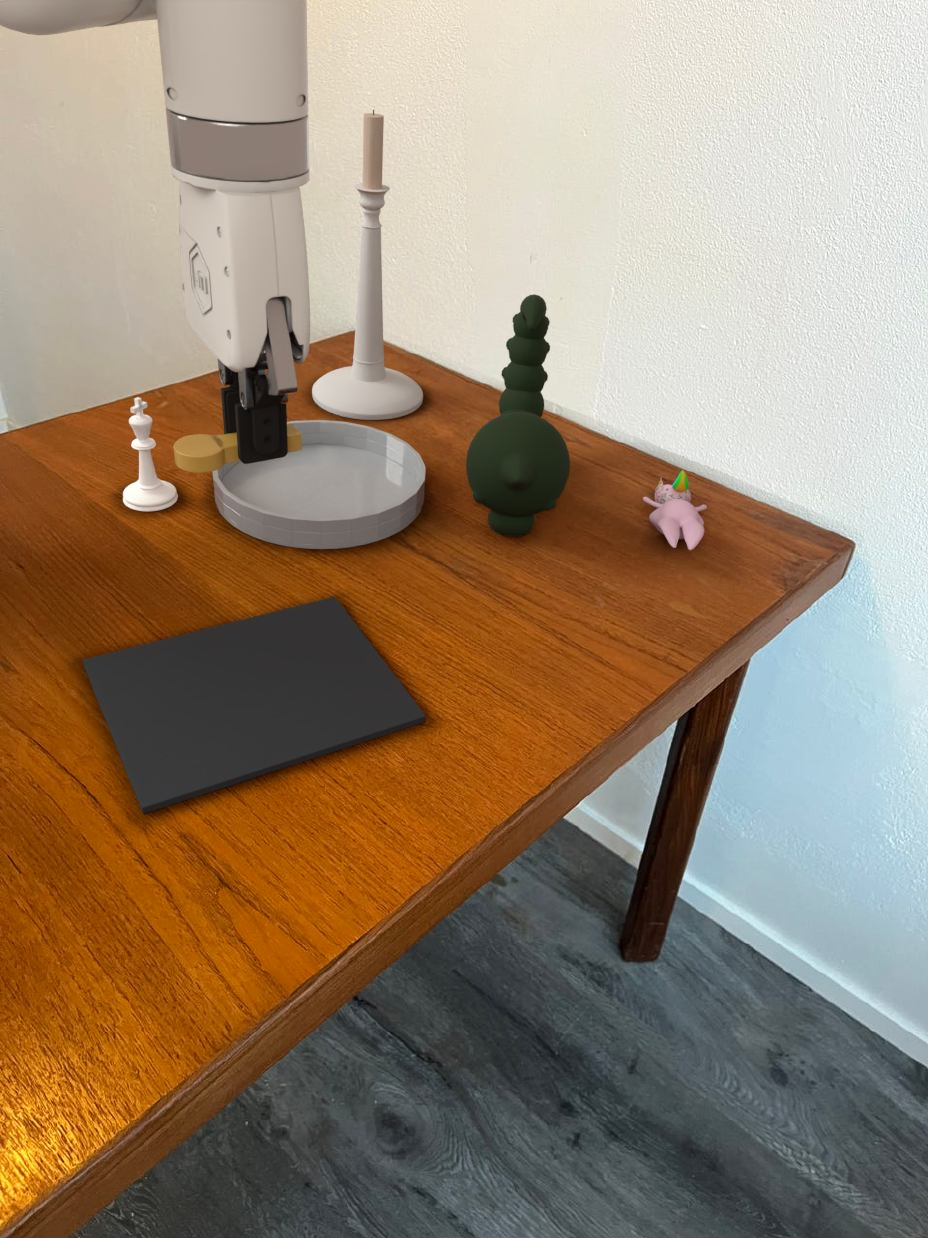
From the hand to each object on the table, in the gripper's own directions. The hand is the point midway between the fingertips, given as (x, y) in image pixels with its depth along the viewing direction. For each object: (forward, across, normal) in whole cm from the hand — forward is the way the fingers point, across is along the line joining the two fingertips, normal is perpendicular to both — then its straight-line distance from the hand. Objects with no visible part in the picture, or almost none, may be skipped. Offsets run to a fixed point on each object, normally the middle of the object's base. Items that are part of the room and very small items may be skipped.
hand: (256, 448), depth 64 cm
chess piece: (+17, -26, -2) cm, 31 cm away
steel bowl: (+17, -21, +14) cm, 30 cm away
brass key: (0, 0, -1) cm, 1 cm away
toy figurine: (+17, -12, +30) cm, 37 cm away
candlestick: (+17, -40, +28) cm, 51 cm away
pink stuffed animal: (+17, -1, +41) cm, 45 cm away
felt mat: (+17, +4, -3) cm, 18 cm away
